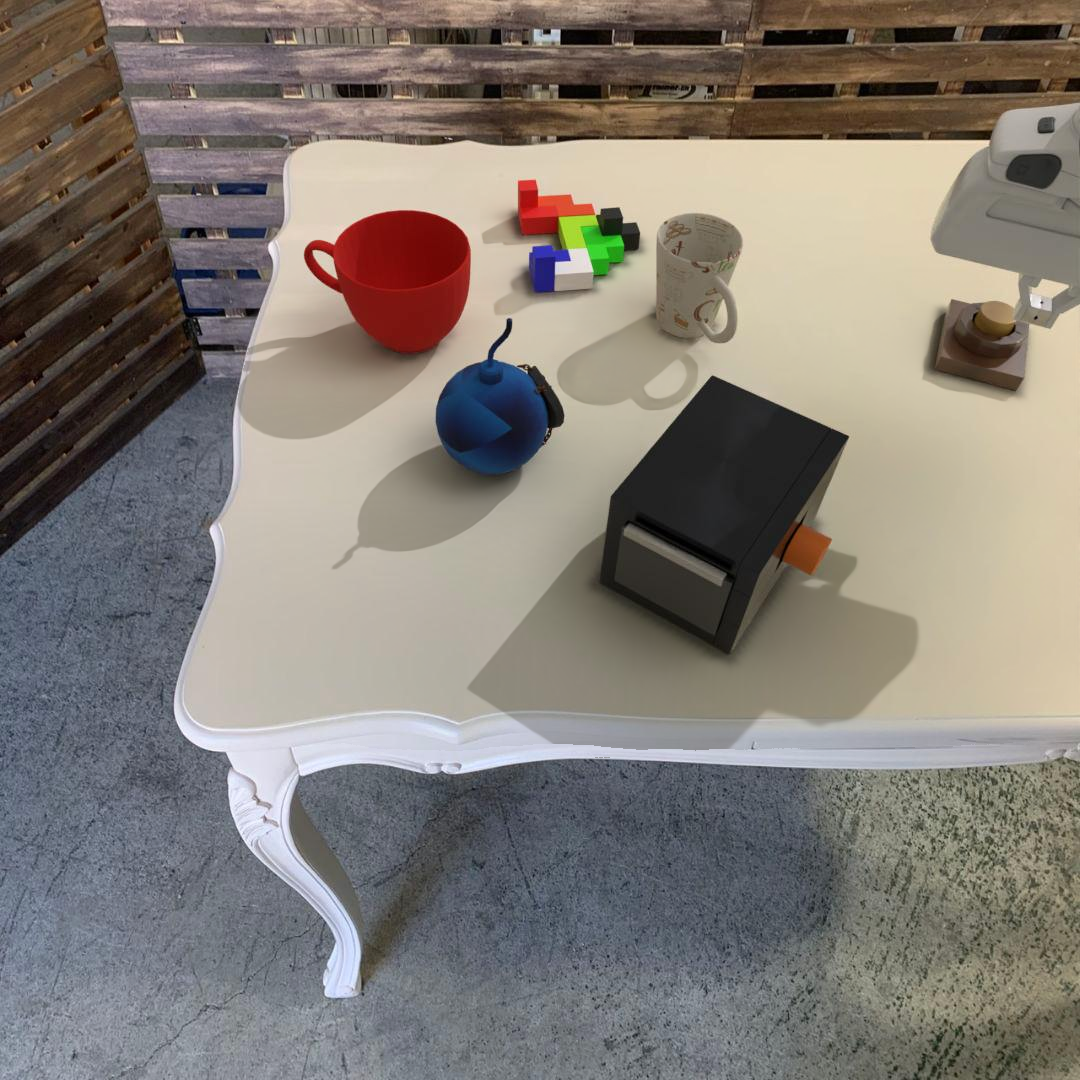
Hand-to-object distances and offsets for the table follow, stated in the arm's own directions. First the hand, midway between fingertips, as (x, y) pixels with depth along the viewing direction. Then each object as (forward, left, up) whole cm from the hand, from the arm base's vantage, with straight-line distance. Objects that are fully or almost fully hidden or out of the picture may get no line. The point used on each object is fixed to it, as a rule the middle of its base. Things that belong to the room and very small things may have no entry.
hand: (1031, 320), depth 73 cm
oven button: (+11, +23, -10) cm, 28 cm away
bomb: (+39, +18, -15) cm, 46 cm away
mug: (+27, -6, -15) cm, 32 cm away
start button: (-1, -15, -12) cm, 19 cm away
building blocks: (+43, -15, -15) cm, 48 cm away
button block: (-1, -15, -15) cm, 21 cm away
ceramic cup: (+56, +6, -15) cm, 59 cm away
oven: (+19, +21, -15) cm, 32 cm away
